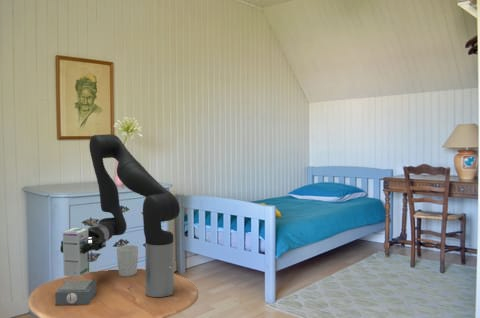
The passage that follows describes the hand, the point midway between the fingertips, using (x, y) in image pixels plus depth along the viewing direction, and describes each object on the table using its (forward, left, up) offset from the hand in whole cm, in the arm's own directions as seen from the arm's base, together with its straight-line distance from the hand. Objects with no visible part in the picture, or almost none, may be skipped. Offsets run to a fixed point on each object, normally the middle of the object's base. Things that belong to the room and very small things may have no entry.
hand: (72, 250), depth 139 cm
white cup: (-13, -27, -17) cm, 34 cm away
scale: (-1, -2, -16) cm, 17 cm away
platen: (-1, -2, -12) cm, 13 cm away
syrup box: (0, -2, -9) cm, 9 cm away
